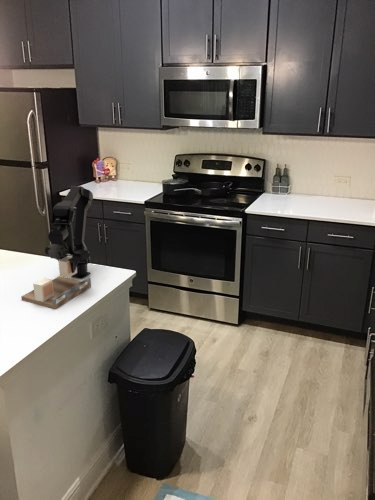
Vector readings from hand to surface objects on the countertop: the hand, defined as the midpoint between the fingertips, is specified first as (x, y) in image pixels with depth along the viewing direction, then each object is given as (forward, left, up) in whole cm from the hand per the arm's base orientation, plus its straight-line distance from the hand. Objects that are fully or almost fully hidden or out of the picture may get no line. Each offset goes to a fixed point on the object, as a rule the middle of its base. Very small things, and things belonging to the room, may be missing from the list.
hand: (68, 271), depth 179 cm
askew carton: (0, 0, -1) cm, 1 cm away
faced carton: (+14, -1, -6) cm, 15 cm away
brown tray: (+6, -1, -8) cm, 10 cm away
